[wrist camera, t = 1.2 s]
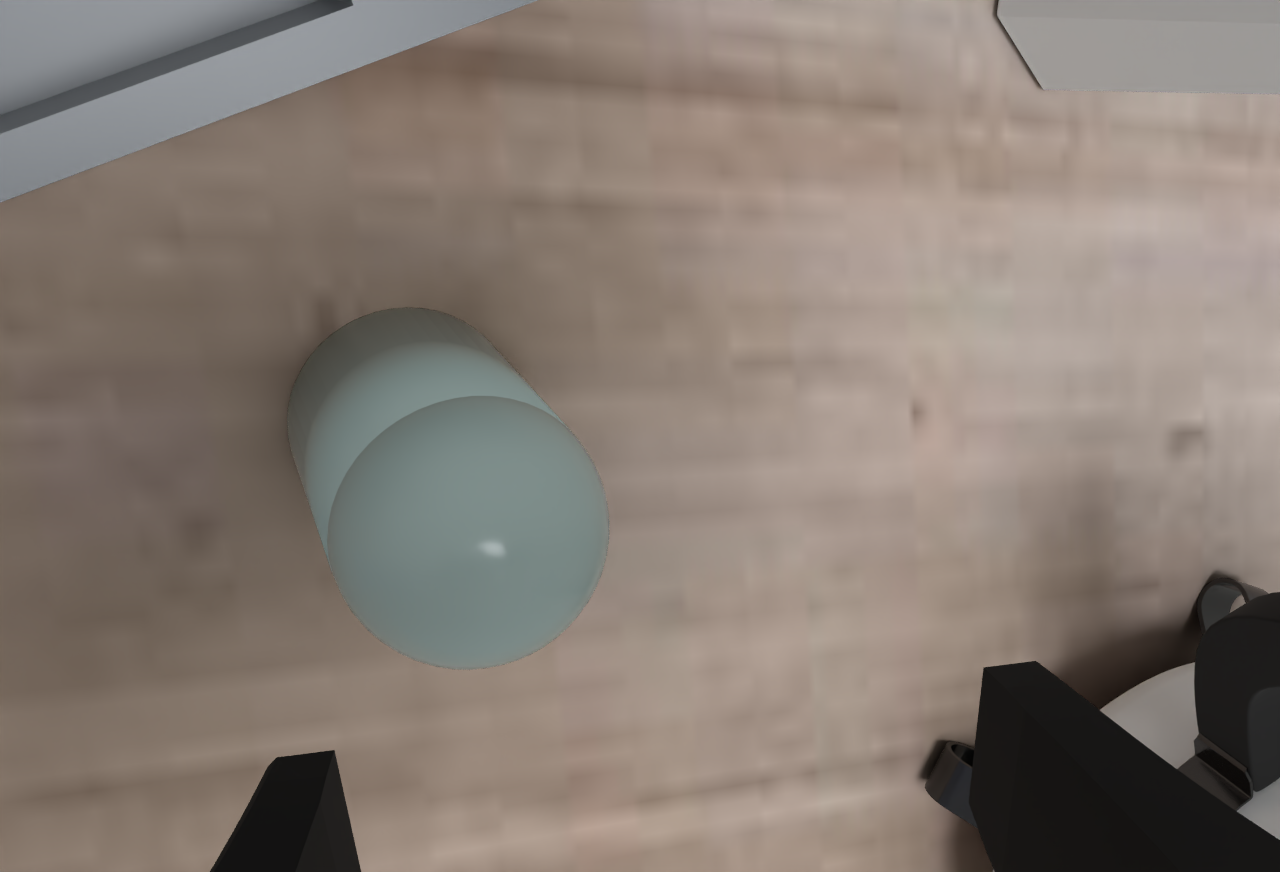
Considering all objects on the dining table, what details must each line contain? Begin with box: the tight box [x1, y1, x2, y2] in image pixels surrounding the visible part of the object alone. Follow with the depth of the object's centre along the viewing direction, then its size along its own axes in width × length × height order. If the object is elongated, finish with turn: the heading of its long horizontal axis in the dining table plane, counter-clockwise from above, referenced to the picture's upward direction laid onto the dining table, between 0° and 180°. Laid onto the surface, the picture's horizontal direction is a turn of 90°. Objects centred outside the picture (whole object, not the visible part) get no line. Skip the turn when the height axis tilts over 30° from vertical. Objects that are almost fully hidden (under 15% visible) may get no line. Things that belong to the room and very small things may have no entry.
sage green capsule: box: [287, 308, 609, 670], centre depth 20 cm, size 4×4×7 cm
